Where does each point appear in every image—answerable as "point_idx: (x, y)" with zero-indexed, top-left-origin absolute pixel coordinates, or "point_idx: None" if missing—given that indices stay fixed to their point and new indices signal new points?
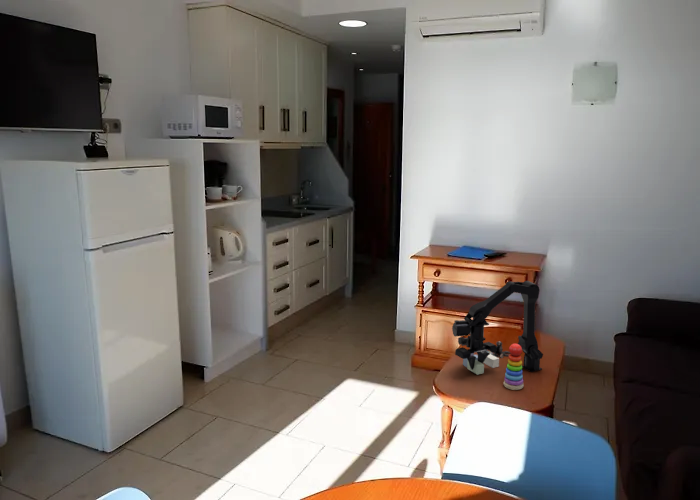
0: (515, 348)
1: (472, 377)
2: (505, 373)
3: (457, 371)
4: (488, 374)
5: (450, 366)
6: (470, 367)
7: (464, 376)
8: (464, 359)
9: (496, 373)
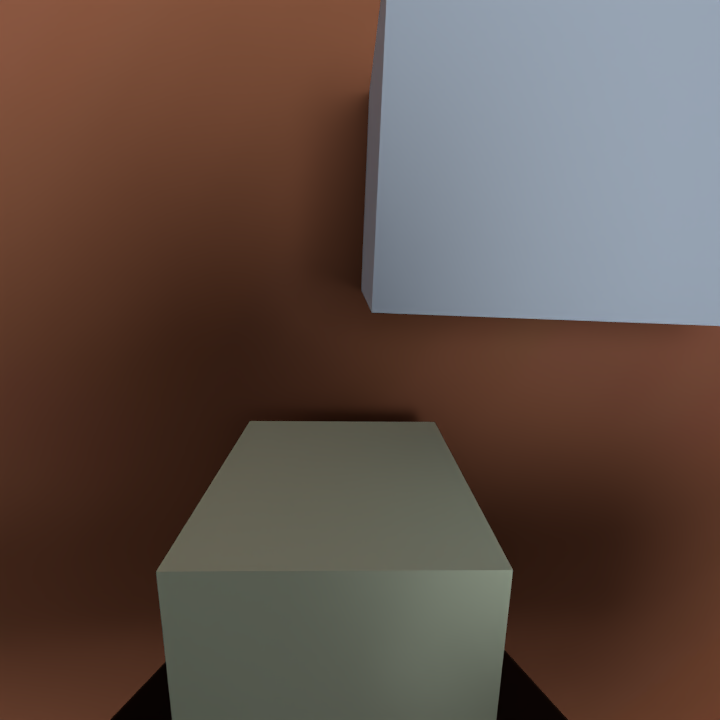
0: None
1: None
2: None
3: (36, 350)
4: None
5: (11, 12)
6: None
7: (54, 589)
8: (379, 87)
9: (643, 706)
